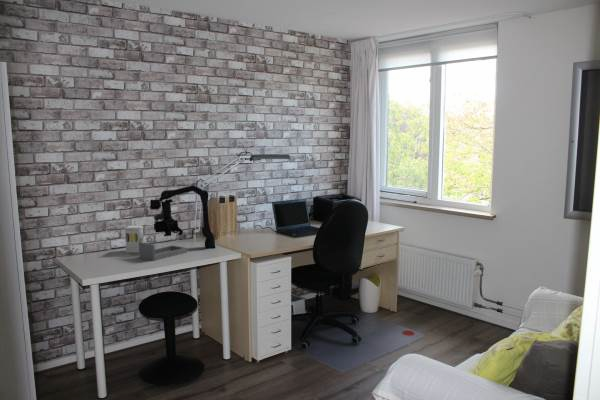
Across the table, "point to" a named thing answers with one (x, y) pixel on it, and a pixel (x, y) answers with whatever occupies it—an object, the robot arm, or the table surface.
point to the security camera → (161, 227)
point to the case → (158, 251)
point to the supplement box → (133, 238)
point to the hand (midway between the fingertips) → (167, 231)
